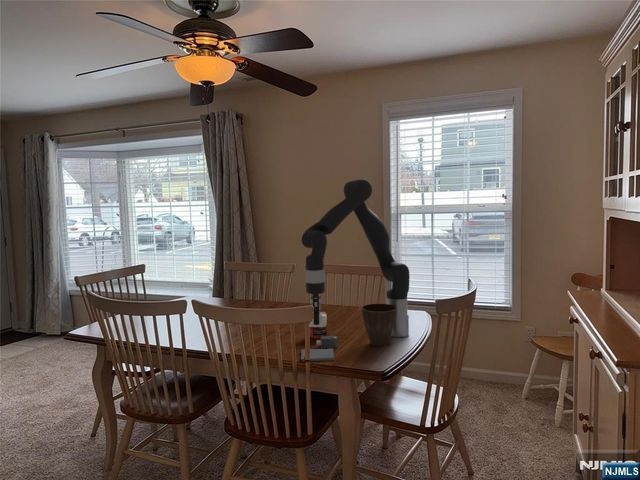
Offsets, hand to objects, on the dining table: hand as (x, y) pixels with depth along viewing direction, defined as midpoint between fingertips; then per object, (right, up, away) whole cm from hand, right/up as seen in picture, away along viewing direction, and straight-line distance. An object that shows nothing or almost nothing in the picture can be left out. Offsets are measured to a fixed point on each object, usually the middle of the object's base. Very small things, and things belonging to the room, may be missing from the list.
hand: (316, 322), depth 180 cm
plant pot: (+27, -12, +14) cm, 33 cm away
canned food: (+1, -11, +26) cm, 28 cm away
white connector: (-1, -1, 0) cm, 1 cm away
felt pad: (0, -13, +1) cm, 14 cm away
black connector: (+4, -12, +12) cm, 18 cm away
